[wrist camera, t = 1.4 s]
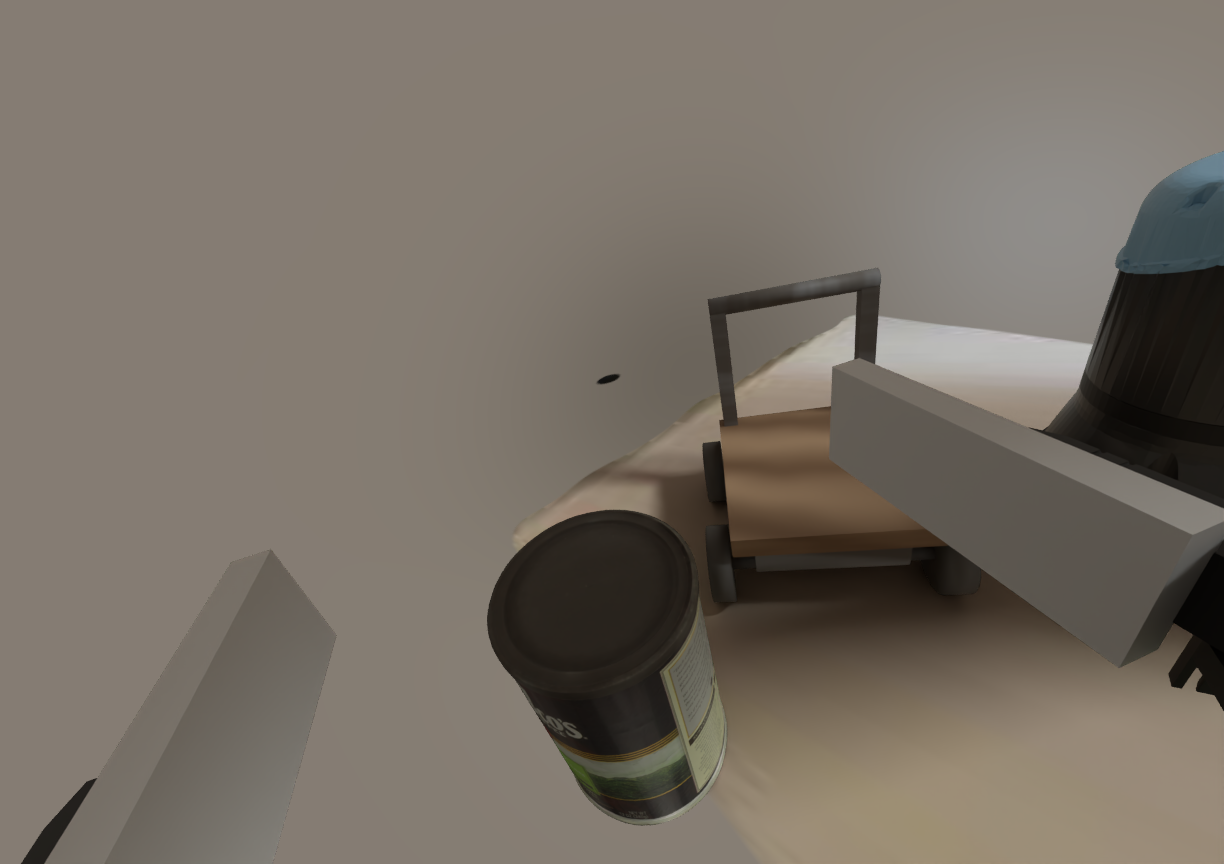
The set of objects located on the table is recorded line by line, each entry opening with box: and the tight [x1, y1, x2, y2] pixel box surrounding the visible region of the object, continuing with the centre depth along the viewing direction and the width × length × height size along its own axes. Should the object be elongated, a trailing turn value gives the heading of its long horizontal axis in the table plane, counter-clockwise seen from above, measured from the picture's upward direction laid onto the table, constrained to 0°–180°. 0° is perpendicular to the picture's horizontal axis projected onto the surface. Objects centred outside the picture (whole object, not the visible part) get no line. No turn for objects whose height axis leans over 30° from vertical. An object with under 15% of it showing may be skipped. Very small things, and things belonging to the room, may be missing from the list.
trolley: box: [703, 268, 981, 602], centre depth 35 cm, size 17×17×19 cm
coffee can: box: [487, 510, 727, 825], centre depth 26 cm, size 10×10×14 cm
